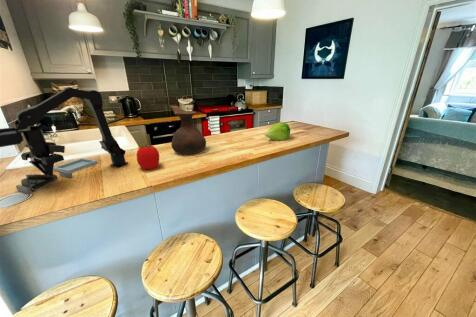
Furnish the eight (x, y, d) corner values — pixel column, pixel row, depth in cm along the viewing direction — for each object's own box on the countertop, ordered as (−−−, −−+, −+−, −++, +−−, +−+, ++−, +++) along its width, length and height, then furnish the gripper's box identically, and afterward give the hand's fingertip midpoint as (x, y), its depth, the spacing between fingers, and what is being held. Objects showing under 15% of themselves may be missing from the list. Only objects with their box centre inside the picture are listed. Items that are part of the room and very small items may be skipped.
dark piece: (48, 179, 98) (16, 171, 87) (59, 175, 96) (28, 166, 86) (42, 198, 93) (9, 192, 83) (54, 194, 92) (21, 188, 82)
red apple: (151, 174, 102) (147, 149, 97) (133, 171, 106) (128, 147, 101) (166, 165, 112) (163, 143, 108) (149, 163, 116) (145, 141, 112)
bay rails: (73, 178, 98) (71, 172, 97) (29, 195, 84) (26, 189, 83) (62, 175, 101) (60, 170, 100) (18, 192, 86) (15, 185, 85)
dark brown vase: (203, 146, 145) (200, 104, 135) (209, 156, 126) (206, 107, 116) (172, 150, 139) (166, 105, 128) (173, 160, 120) (166, 109, 109)
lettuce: (258, 142, 156) (259, 122, 150) (282, 138, 164) (284, 119, 159) (269, 147, 143) (270, 125, 138) (294, 143, 152) (296, 123, 147)
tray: (97, 164, 115) (96, 160, 115) (69, 174, 102) (68, 170, 101) (83, 161, 119) (82, 158, 118) (54, 171, 106) (53, 167, 105)
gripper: (71, 138, 88) (82, 171, 93) (45, 134, 94) (56, 165, 99) (40, 145, 78) (54, 181, 83) (13, 141, 84) (28, 174, 90)
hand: (49, 175), depth 89 cm, fingers open, 3 cm apart
